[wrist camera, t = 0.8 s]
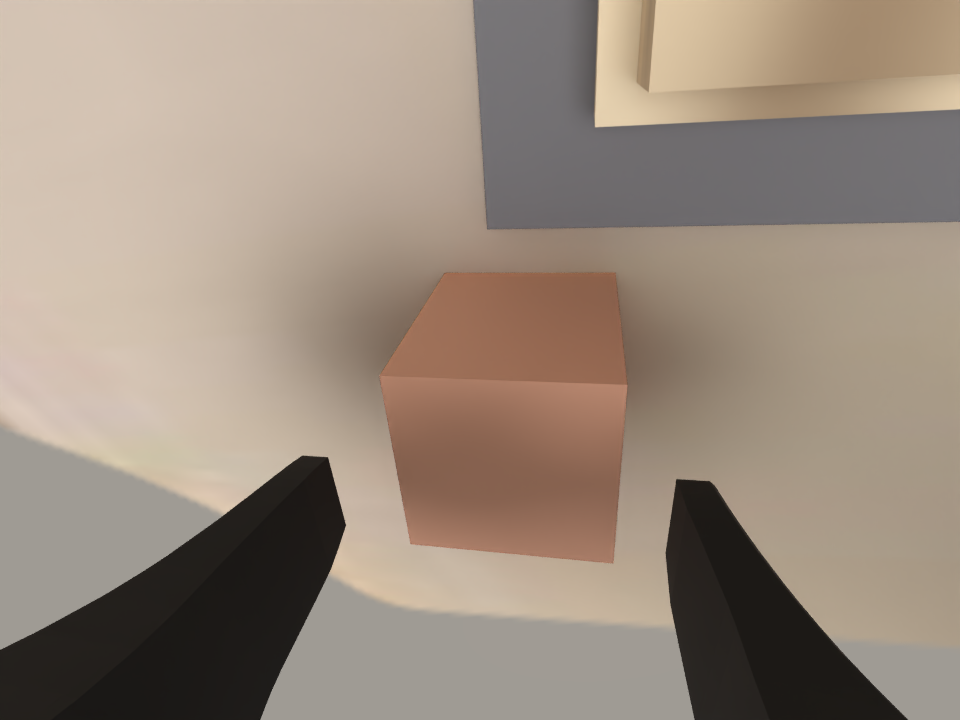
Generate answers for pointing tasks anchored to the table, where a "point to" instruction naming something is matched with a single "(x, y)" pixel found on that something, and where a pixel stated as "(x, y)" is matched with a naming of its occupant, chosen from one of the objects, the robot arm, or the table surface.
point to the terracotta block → (511, 414)
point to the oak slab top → (793, 42)
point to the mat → (682, 147)
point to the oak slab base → (635, 106)
